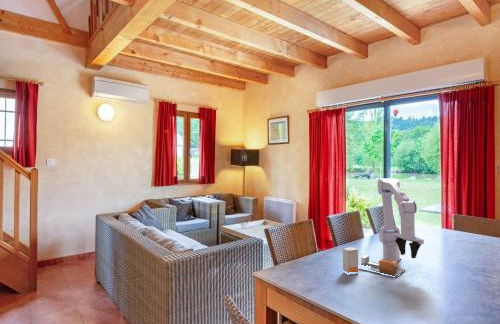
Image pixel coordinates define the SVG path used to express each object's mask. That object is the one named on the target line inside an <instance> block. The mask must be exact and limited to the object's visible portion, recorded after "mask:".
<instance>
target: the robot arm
mask: <svg viewBox="0 0 500 324" xmlns="http://www.w3.org/2000/svg"><path fill="white" fill-rule="evenodd" d="M400 185H401V182H400V179H398V178H378V180H377V192H378V194H379V195H380V196H381V200H382V210H383V211H382V213H383V223H384V224H383V225H382V226H381V227H380V228H379V230H378V231H379V235H378V238H379V241H380V242H381V243H382V258H384V259H388V260H393V261H398V262H400V261H401V260H402V257H401V256H405V255H406V244H407V241H408V245H409V248H410V257H411V259H416V258H417V254H418V251H419V249H420V247H421V246H422V245H424V244H425V240H424V239H422V238H420V237H417V236H416V232H415V231H416V229H415V228H416V227H415V226H416V225H415V222H416V221H415V214H416V213H417V210H418V207H417V206H418V205H417V203H416V202H415V200H410V198H409V197H408V196H407V194H406V193H405V192H404V191H402V190H401V189H400ZM392 196H393V197H392ZM392 198H393V199H392ZM393 200H394V201H395V203H396V204H397V209H398V214H399V217H400V228H399V227H397V226H396V225H395V221H394V209H393ZM400 259H401V260H400Z"/></svg>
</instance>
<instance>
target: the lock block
mask: <svg viewBox="0 0 500 324" xmlns="http://www.w3.org/2000/svg"><path fill="white" fill-rule="evenodd" d="M381 258H382V259H381ZM381 258H380V259H381V260H380V259H379V260H378V263H379V269H380V270H385V271H389V272H393V273H394V272H395V268H397V267H398V262H397V261H393V260H388V259H384V258H383V257H381ZM398 268H399V267H398ZM398 268H397V270H398Z"/></svg>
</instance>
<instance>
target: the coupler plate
mask: <svg viewBox="0 0 500 324" xmlns="http://www.w3.org/2000/svg"><path fill="white" fill-rule="evenodd" d="M369 261H370V255H368V254H364V255H363V256H361V258H360V264H361V265H364V266H366V265H368V266H371V268H370V270H373V271H376V272H380V273H384V274H388V275H392V276H395V277H397V276H398V275H399V274H401V273H402V272H403V271H404V272H406V268H402V267H398V266H397V268H398V270H397V268H395V272H394V273H393V272H389V271H385V270H380V269H379V262H374V261H371V262H369ZM368 269H369V268H368ZM404 272H403V273H404ZM403 273H402V274H403ZM402 274H401V275H402ZM398 277H399V276H398ZM398 277H397V278H398Z"/></svg>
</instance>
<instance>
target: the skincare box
mask: <svg viewBox="0 0 500 324" xmlns="http://www.w3.org/2000/svg"><path fill="white" fill-rule="evenodd" d="M358 265H359V249H358V248H356V247H351V246H350V247H345V248H344V247H343V248H342V271H343V270H344V271H346V272H348V273H349V272H358V273H359V269H358Z"/></svg>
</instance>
